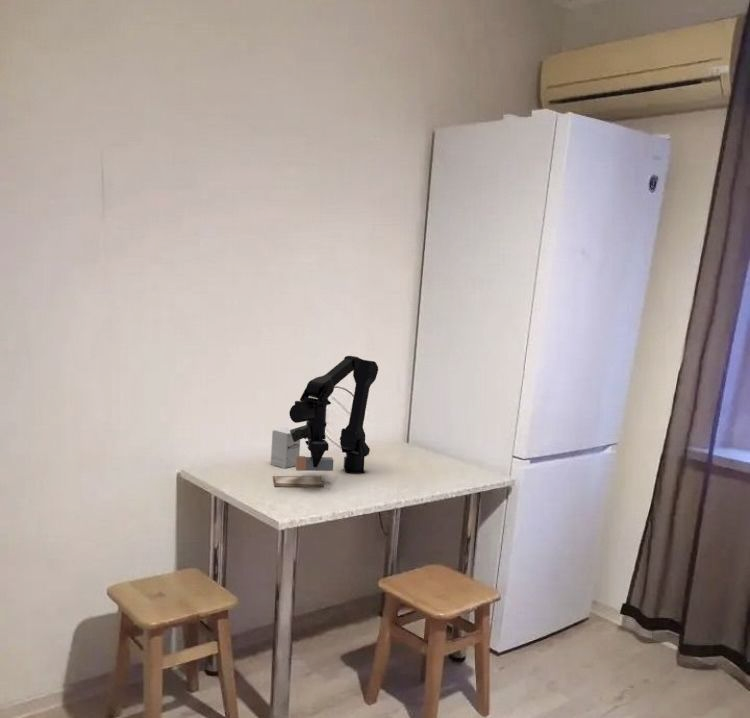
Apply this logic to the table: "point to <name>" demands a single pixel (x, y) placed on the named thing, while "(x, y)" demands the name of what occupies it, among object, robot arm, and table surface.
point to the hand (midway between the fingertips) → (314, 465)
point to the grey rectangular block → (307, 464)
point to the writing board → (297, 481)
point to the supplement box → (284, 448)
